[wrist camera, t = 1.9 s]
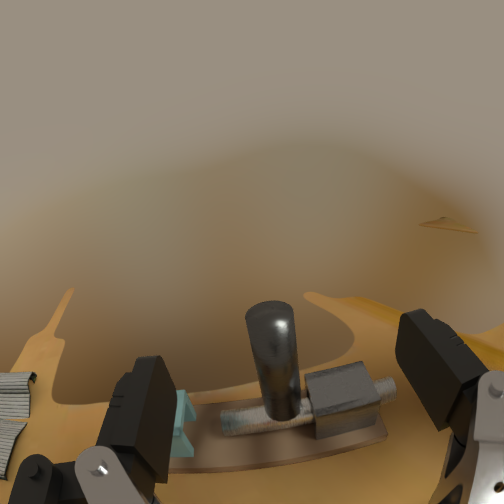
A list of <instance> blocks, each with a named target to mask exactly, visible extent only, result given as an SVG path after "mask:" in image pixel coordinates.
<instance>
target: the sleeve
mask: <svg viewBox="0 0 504 504" xmlns="http://www.w3.org/2000/svg"><path fill="white" fill-rule="evenodd" d="M304 375H305V391H306V397H310V400H311V403H312V407H313V410H314V417H315V437H316V440H320V439H324V438H329V437H333V436H337V435H341V434H345V433H348V432H352V431H355V430H359V429H362V428H366V427H369V426H372V425H375V423H376V419H377V415H378V411H379V407H380V403H381V398H380V396H379V394H378V392H377V390H376V388H375V386H374V384H373V382H372V380H371V378H370V376H369V374H368V372H367V370H366V368H365V366H364V364H363V362H362V361H359V362H355V363H351V364H347V365H343V366H339V367H335V368H331V369H326V370H322V371H317V372H313V373H308V374H304Z"/></svg>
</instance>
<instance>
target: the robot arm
mask: <svg viewBox="0 0 504 504" xmlns="http://www.w3.org/2000/svg"><path fill="white" fill-rule="evenodd" d="M395 354H396V359H397V362H398V364H399V366H400V368H401V369H402V371H403V372H404V374H405V376H406V377H407V379H408V381H409V382H410V384H411V385H412V387H413V389H414V390H415V392H416V394H417V395H418V397H419V399H420V400H421V402H422V404H423V406H424V407H425V409H426V411H427V412H428V414H429V416H430V418H431V419H432V421H433V423H434V425H435V426H436V428H437V430H438V432H439V431H441V430H443V429H445V428H447V427H449V426H450V427H451V429H452V433H451V435H450V439H449V444H448V449H447V453H446V457H445V461H444V465H443V469H442V473H441V477H440V480H439V483H438V485H437V487H436V489H435V491H434V493H433V495H432V497H431V499H430V501H429V503H428V504H504V372H502V371H489V370H488V369H487V368H486V367H485V365H484V364H483V363H482V362H481V361H480V360H479V358H478V357H477V356H476V355H475V354H474V353H473V351H472V350H471V349H470V348H469V347H468V346H467V345H466V344H464V341H463V340H462V339H461V338H460V337H459V336H457V334H456V333H455V331H454V330H453V329H452V328H451V327H450V326H449V325H447V324H445V323H444V322H442V321H440V320H438V319H435V320H433V318H432V317H431V316H430V315H429V314H428V313H427V312H426V311H425V310H424V309H418V310H414V311H411V312H407V313H403V314H402V315H401V317H400V322H399V329H398V335H397V341H396V347H395ZM112 396H113V398H111V401H110V403H109V408H108V409H107V412H106V415H105V418H104V421H103V424H102V427H101V430H100V433H99V436H98V440H97V443H96V445H95V446H93V447H90V448H88V449H86V450H84V451H83V452H82V453H81V454H80V455H79V456H78V458H77V460H76V461H73V462H65V463H58V464H53V463H52V462H51V461H50V460H49V459H48V458H46V457H45V456H43V455H40V454H34V455H31V456H28V457H27V458H26V459H24V460H23V462H22V463H21V465H20V467H19V469H18V472H17V475H16V478H15V482H14V485H13V488H12V491H11V495H10V498H9V502H8V504H162V503H161V501H160V500H159V498H158V497H157V496H156V494H155V493H154V487H155V483H167V479H168V470H169V462H170V454H171V446H172V438H173V431H174V423H175V416H176V409H177V392H176V388H175V386H174V383H173V381H172V379H171V377H170V374H169V372H168V370H167V368H166V365H165V363H164V361H163V359H162V357H161V356H147V357H138V358H137V359H136V362H135V365H134V368H133V371H132V372H130V373H125V374H124V376H123V377H122V378H121V379H120V380H119V381H118V382H117V384H116V387H115V389H114V392H113V395H112Z"/></svg>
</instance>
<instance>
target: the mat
mask: <svg viewBox="0 0 504 504" xmlns="http://www.w3.org/2000/svg"><path fill="white" fill-rule="evenodd" d="M36 377H37V374H36V373H35V372H18V373H0V479H2V480H7V478H6V476H5V475H6V471H7V466H8V463H9V460H10V456H11V453H12V450H13V447H14V444H15V442H16V439H17V437H18V435H19V434H20V432H21V431H22V430H23V429H24V428H25V426H26V425H27V422H18V421H10V420H4V419H23V418H29V417H30V392H29V386H28V382H29V380H32V381H33V382H34V383H35V379H36Z"/></svg>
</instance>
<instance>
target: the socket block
mask: <svg viewBox="0 0 504 504" xmlns="http://www.w3.org/2000/svg"><path fill="white" fill-rule="evenodd" d="M176 392H177V409H176V416H175V423H174V431H173V438H172V446H171V454H170V457H194V448H193V446H192V445H191V443H190V442H189V440H188V438H187V437H186V435H185V434H184V432H183V423H184V422H187V421H196V415H197V414H196V412H195V410H194V408H193V406H192V404H191V401H190V399H189V397H188V395H187V393H186V391H185V390H176Z"/></svg>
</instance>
